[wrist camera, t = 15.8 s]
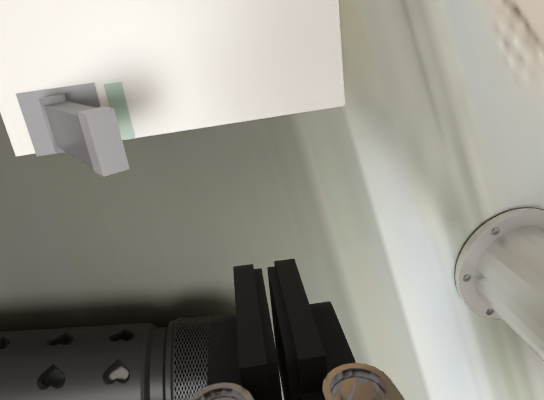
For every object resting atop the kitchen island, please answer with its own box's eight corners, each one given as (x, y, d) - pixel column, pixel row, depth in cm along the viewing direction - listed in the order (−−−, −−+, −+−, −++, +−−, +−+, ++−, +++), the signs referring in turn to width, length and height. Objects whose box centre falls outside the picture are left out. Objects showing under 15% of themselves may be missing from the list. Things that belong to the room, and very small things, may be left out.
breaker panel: (311, -129, 32) (328, -155, 28) (328, 98, 38) (345, 108, 34) (-35, -90, 30) (-80, -111, 26) (41, 142, 36) (16, 159, 32)
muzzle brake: (-73, 306, 40) (-160, 393, 31) (238, 288, 44) (246, 362, 35) (-48, 388, 44) (-119, 489, 34) (239, 366, 48) (246, 452, 38)
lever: (61, 93, 31) (114, 104, 22) (76, 144, 32) (132, 171, 24) (36, 98, 30) (82, 110, 22) (52, 150, 31) (102, 181, 23)
